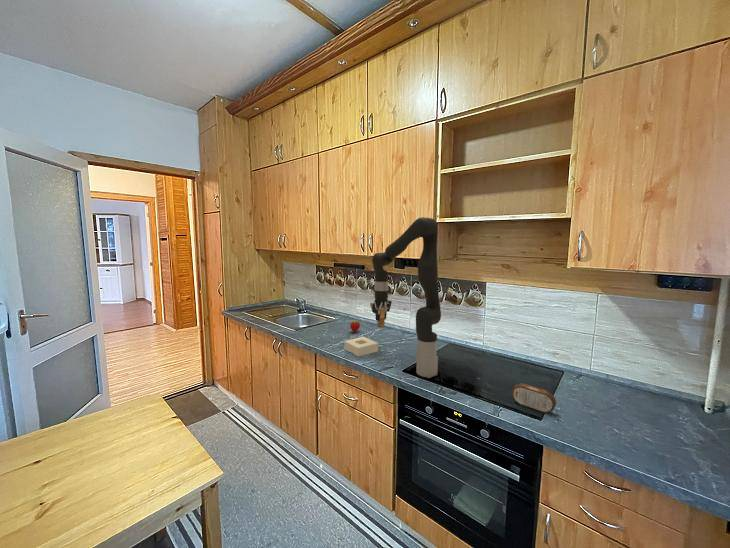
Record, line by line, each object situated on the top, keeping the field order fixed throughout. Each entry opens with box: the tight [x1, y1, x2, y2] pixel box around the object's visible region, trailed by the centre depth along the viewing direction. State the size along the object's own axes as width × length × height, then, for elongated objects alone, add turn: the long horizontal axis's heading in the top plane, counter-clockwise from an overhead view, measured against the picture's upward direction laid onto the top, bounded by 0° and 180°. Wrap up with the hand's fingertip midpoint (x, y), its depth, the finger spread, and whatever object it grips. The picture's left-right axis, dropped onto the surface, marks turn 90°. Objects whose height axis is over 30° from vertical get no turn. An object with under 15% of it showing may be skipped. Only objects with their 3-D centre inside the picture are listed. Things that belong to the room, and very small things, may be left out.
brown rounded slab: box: [511, 383, 557, 414], centre depth 117 cm, size 15×3×8 cm, turn 48°
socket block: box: [344, 336, 379, 358], centre depth 176 cm, size 14×14×5 cm
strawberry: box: [349, 320, 361, 333], centre depth 208 cm, size 6×8×10 cm
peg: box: [376, 305, 385, 329], centre depth 166 cm, size 4×4×12 cm
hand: (381, 319), depth 166 cm, fingers closed on peg, 4 cm apart
